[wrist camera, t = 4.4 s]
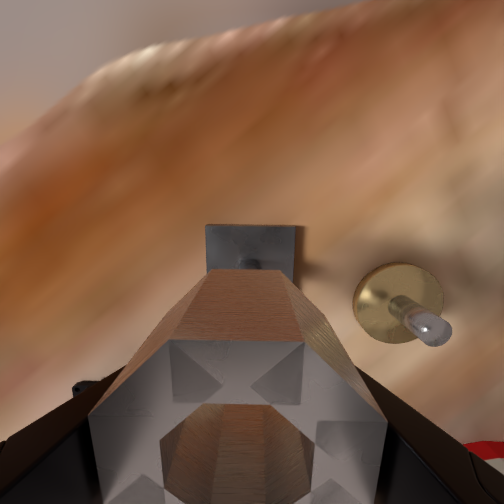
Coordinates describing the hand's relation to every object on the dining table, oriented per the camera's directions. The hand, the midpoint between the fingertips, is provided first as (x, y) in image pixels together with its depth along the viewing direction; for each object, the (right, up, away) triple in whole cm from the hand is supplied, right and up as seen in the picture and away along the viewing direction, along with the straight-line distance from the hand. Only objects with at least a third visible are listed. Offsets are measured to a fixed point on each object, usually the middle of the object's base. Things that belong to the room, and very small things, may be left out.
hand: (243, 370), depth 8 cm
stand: (0, +3, +12) cm, 12 cm away
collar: (0, 0, +1) cm, 2 cm away
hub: (+13, 0, +13) cm, 18 cm away
